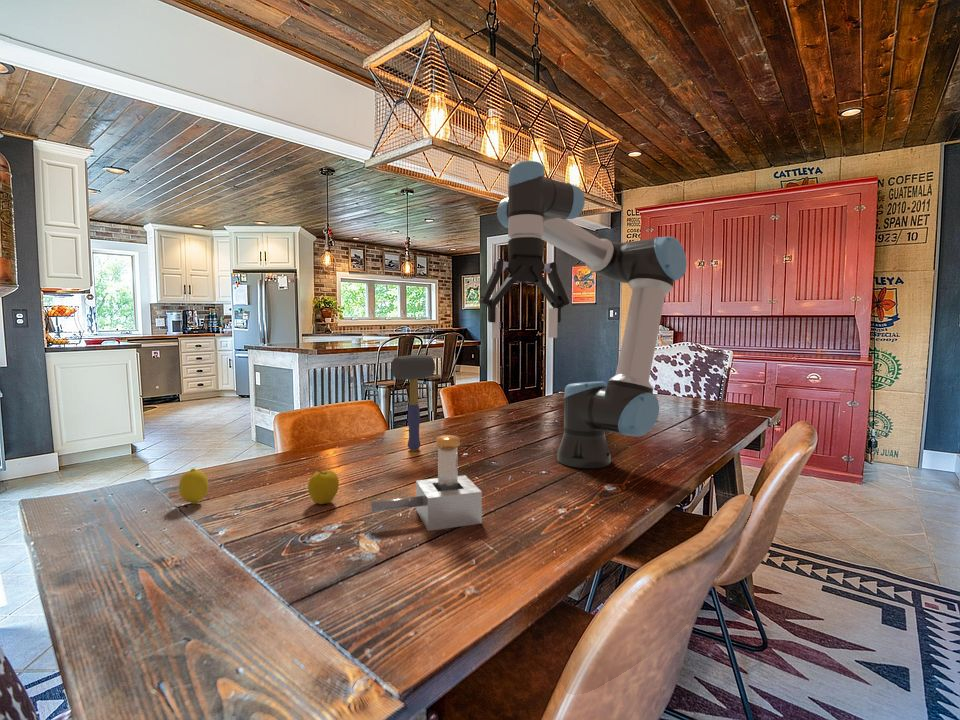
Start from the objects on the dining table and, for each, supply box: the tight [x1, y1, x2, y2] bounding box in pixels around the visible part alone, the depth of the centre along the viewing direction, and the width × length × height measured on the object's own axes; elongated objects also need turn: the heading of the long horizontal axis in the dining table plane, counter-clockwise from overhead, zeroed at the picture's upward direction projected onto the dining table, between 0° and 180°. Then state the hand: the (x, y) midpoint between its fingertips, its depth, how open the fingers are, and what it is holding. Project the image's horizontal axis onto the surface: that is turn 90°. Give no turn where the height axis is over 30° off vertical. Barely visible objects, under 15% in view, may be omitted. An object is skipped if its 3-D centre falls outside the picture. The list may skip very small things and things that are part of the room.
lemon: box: [178, 468, 209, 505], centre depth 107 cm, size 6×6×8 cm
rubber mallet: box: [391, 354, 436, 452], centre depth 151 cm, size 12×8×30 cm, turn 126°
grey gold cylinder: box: [435, 434, 461, 492], centre depth 100 cm, size 5×5×14 cm
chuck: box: [370, 475, 483, 532], centre depth 98 cm, size 21×11×6 cm, turn 109°
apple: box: [307, 470, 340, 505], centre depth 107 cm, size 6×6×8 cm
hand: (524, 338), depth 105 cm, fingers open, 13 cm apart
